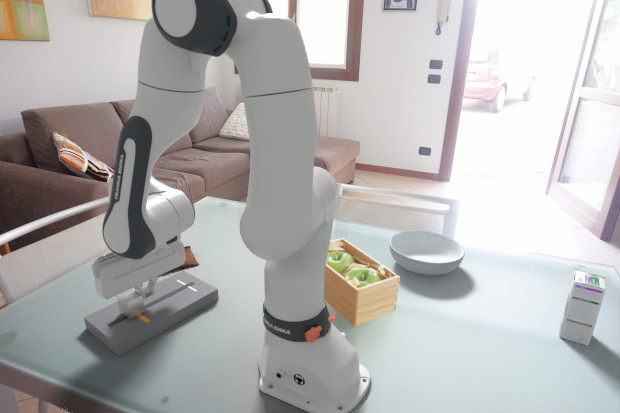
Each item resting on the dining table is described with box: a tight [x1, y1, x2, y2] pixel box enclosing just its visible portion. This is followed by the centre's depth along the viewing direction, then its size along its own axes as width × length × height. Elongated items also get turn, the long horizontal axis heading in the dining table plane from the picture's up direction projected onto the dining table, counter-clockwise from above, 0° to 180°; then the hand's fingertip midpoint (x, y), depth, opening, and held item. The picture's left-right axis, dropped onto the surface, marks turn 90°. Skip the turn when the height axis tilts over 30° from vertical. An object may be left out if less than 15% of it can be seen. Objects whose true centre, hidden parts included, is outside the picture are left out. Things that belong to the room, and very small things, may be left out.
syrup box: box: [559, 270, 606, 347], centre depth 89 cm, size 6×6×14 cm
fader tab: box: [115, 288, 145, 319], centre depth 91 cm, size 4×4×4 cm
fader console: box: [83, 270, 220, 357], centre depth 96 cm, size 14×26×3 cm, turn 142°
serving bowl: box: [388, 229, 465, 276], centre depth 118 cm, size 21×21×7 cm
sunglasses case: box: [160, 245, 200, 276], centre depth 117 cm, size 18×7×7 cm, turn 125°
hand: (147, 295), depth 94 cm, fingers closed
